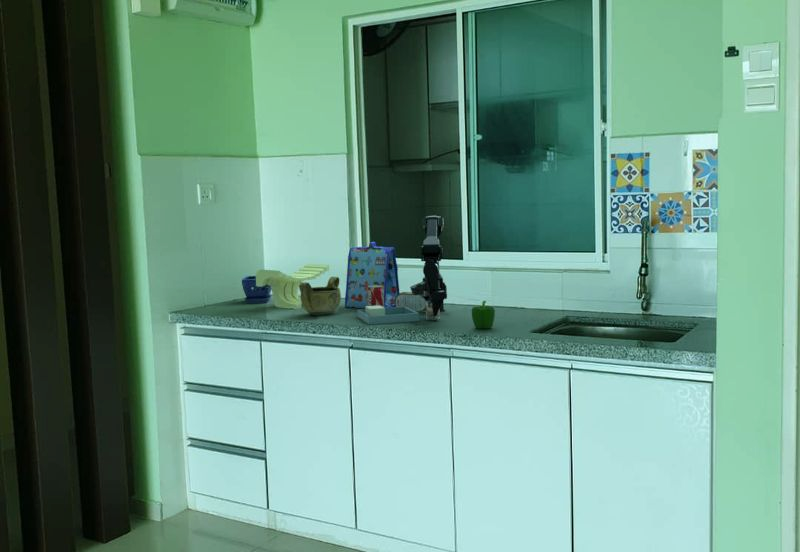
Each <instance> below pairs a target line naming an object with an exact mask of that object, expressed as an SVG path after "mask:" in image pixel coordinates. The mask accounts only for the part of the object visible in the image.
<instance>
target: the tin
mask: <svg viewBox="0 0 800 552" xmlns="http://www.w3.org/2000/svg"><path fill="white" fill-rule="evenodd" d="M421 296H423V294H422V295H420V294H419V295H413V294H412V291H402V292H401V291H400V294H398V295H397V296H396V298H395V307H407V308H409V309H411V310H413V311H415V312H420V313H424V312H426V301H425V299H423V298H422V297H421Z"/></svg>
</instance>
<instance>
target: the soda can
mask: <svg viewBox="0 0 800 552" xmlns="http://www.w3.org/2000/svg"><path fill="white" fill-rule="evenodd" d="M379 305H380V306H382V307H384V292H383V289H382V286H381V285H371V286H368V289H367V306H379Z"/></svg>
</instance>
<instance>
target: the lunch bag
mask: <svg viewBox="0 0 800 552" xmlns="http://www.w3.org/2000/svg"><path fill="white" fill-rule="evenodd" d="M346 270H347V271H346V281H345V283H346V285H345V297H344V299H345V300H344V307H345V308H352V307H354V308H353V309H365V306H367V289H368V286H371V285H381V286H382V289H383V292H384V308H390V307H396V306H395V298H396V296H397V295H398V294H400V293H401V291H400V284H399V283H400V282H399V275H398V274H399V273H398V272H399V271H398V263H397V259H396V249H395V247H389V246H385V247H384V246H377V245H376V242H375V241H371V242H369V243H368V246H356V247H355V246H354V247H350V248H349V250H348V255H347V269H346Z"/></svg>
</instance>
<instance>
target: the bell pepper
mask: <svg viewBox="0 0 800 552" xmlns="http://www.w3.org/2000/svg"><path fill="white" fill-rule="evenodd" d="M486 303H487V301H486V300H483V301H482V303H481V304H482V305H479V306H473V307H472V308H471V317H472V323H473V326H474V327H475V329H486V330H488V329H491V328H493V326H494V322H495V316H496V314H495V313H496V311H495V308H494V307H493V306H489V305H486Z"/></svg>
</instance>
